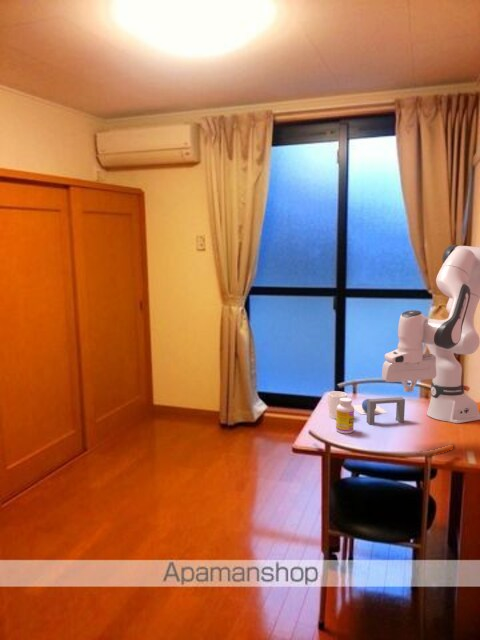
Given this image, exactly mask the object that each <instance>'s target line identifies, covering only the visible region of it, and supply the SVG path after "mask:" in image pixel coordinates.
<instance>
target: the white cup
mask: <svg viewBox="0 0 480 640" xmlns="http://www.w3.org/2000/svg"><path fill="white" fill-rule="evenodd" d="M340 398H348V393H346V392H344V391H338V390H333V391H329V392H328V393H327V399H328V400H327V405H328V406H327V407H328V408H327V409H328V417H329V418H330V419H333V420H336V415H337V406H338V405H339V404H340V402H339V400H340Z"/></svg>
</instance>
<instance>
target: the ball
mask: <svg viewBox="0 0 480 640" xmlns="http://www.w3.org/2000/svg"><path fill="white" fill-rule="evenodd" d="M367 399H368V398H366V399H364V400H363V401H362V403H361V405H362V408H363V410H364V411H365V412H367ZM376 405H377V404H375V409H376Z"/></svg>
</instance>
